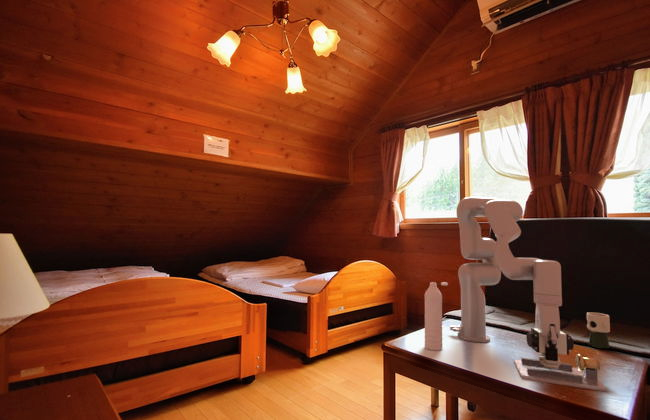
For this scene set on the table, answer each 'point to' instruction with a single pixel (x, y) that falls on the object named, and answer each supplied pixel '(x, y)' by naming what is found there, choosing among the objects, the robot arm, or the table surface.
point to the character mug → (598, 329)
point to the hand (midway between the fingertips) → (548, 356)
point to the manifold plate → (563, 372)
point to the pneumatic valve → (539, 346)
